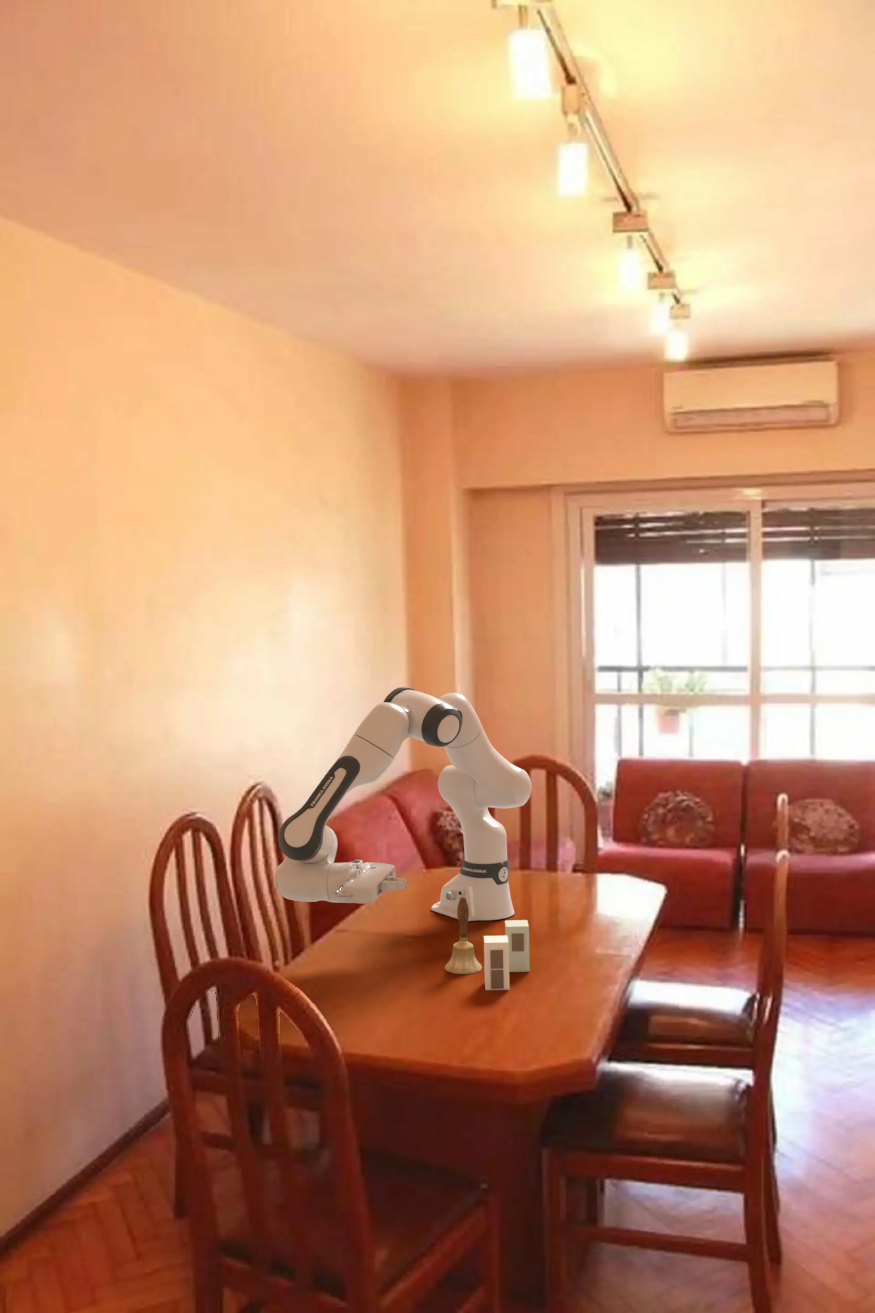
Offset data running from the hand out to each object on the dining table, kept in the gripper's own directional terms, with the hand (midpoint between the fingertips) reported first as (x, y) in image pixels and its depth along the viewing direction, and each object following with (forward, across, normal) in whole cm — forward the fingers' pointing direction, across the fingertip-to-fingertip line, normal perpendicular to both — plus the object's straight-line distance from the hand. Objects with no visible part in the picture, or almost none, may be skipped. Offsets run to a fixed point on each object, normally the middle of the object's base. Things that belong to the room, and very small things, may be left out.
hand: (405, 884), depth 255 cm
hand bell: (+13, -1, +19) cm, 23 cm away
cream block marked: (+22, -12, +18) cm, 31 cm away
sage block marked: (+25, +1, +19) cm, 31 cm away
